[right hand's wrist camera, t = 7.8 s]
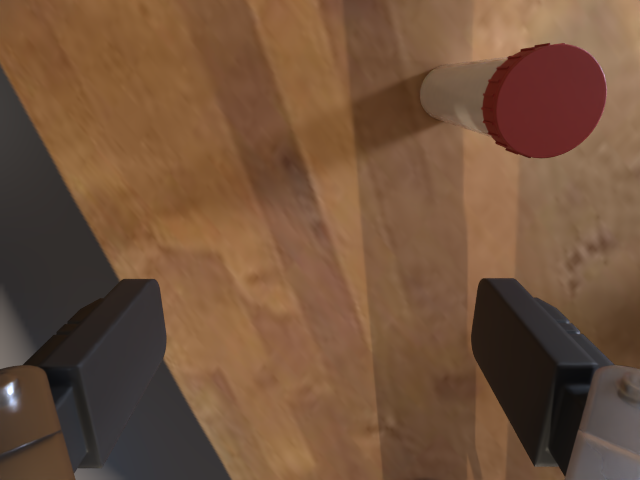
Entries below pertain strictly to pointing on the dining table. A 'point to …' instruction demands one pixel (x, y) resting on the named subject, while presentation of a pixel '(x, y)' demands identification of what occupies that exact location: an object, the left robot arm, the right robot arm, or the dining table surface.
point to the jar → (459, 92)
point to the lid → (544, 100)
